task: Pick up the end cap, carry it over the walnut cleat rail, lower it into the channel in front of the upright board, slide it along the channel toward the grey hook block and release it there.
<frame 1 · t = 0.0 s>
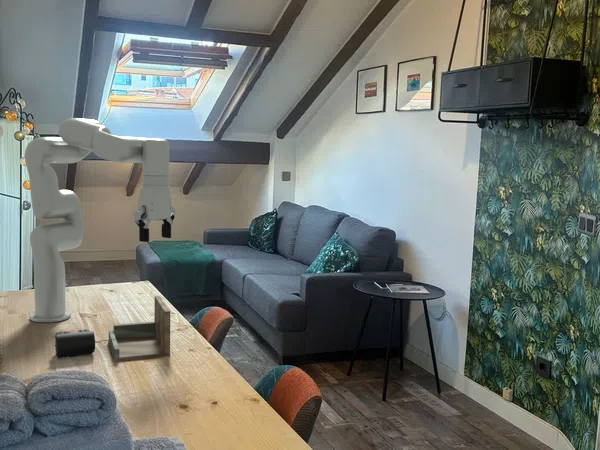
hand: (155, 239, 181), 31 cm above the table, tool pointing down, fingers open, 9 cm apart
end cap: (74, 356, 171), on the table
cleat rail: (136, 348, 178), on the table
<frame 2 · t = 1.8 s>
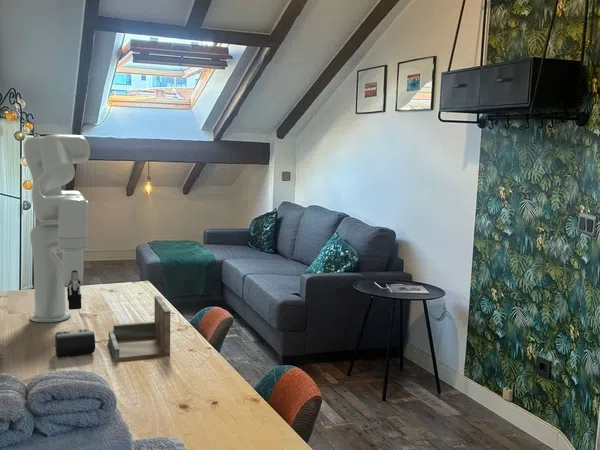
hand: (74, 304, 169), 15 cm above the table, tool pointing down, fingers open, 9 cm apart
nothing on the table moved.
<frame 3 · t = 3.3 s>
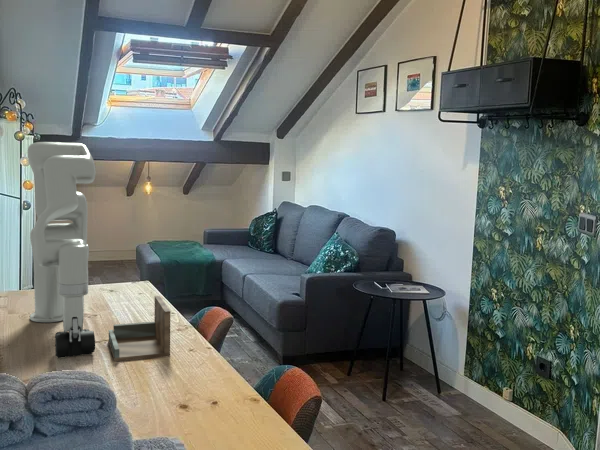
hand: (74, 350, 171), 2 cm above the table, tool pointing down, fingers closed on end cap, 7 cm apart
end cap: (74, 356, 171), on the table, touching gripper
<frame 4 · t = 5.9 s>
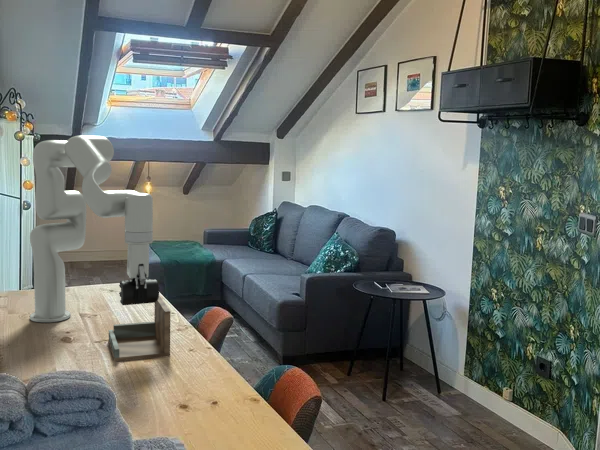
hand: (138, 298, 173), 16 cm above the table, tool pointing down, fingers closed on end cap, 7 cm apart
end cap: (138, 304, 174), point 14 cm above the table, touching gripper
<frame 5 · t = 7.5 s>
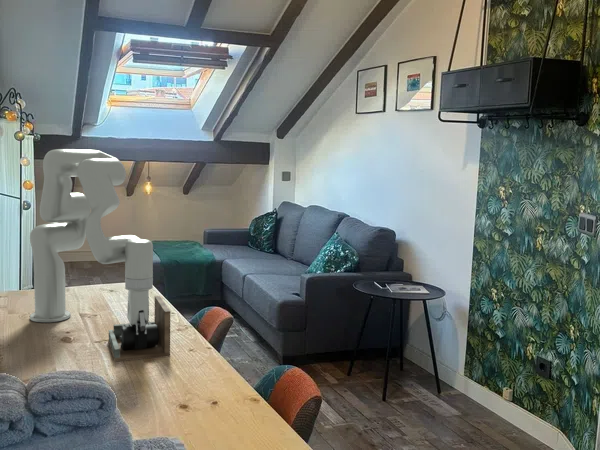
hand: (138, 342, 175), 3 cm above the table, tool pointing down, fingers closed on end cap, 7 cm apart
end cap: (138, 348, 176), point 1 cm above the table, touching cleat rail, gripper
when the fingers open (3 cm above the table, at t = 8.8 s): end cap stays where it is, resting on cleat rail.
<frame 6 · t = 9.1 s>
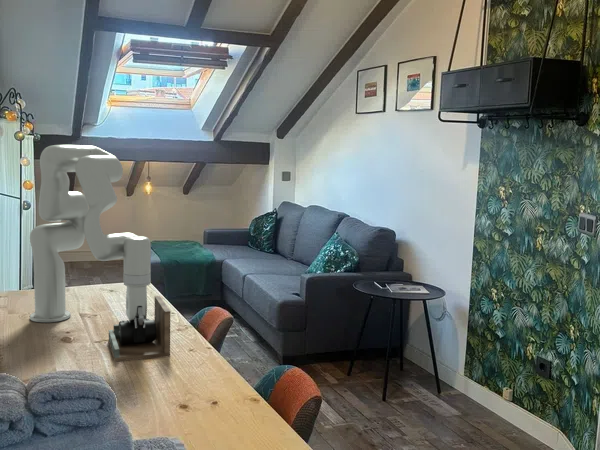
hand: (137, 336, 179), 3 cm above the table, tool pointing down, fingers open, 9 cm apart
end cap: (136, 344, 180), point 1 cm above the table, touching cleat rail
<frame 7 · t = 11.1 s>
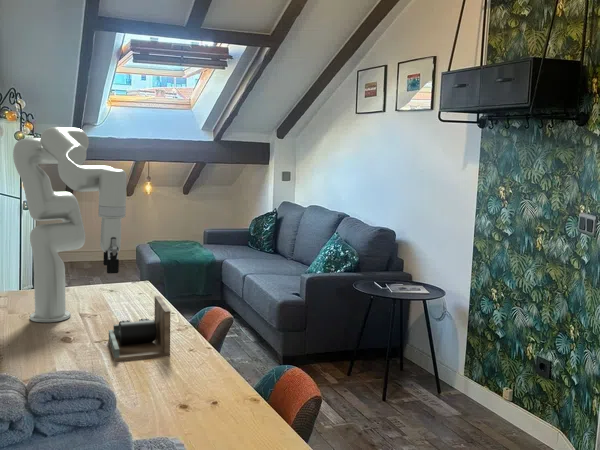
hand: (110, 268, 180), 22 cm above the table, tool pointing down, fingers open, 9 cm apart
nothing on the table moved.
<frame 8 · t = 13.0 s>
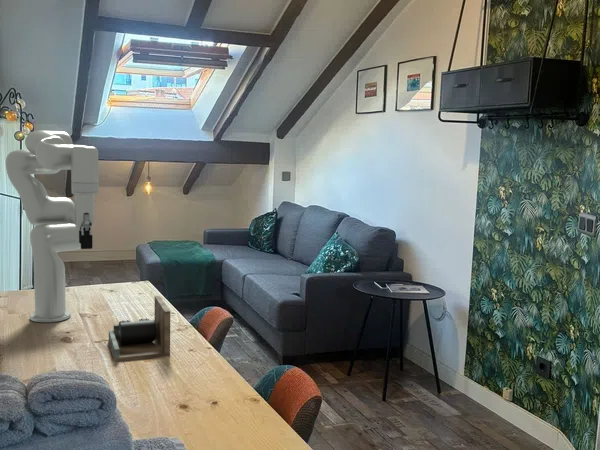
hand: (85, 245, 182), 28 cm above the table, tool pointing down, fingers open, 9 cm apart
nothing on the table moved.
at the end: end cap inside the target area (0.4 cm from its centre), point 0.8 cm above the table; the gripper is holding nothing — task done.
